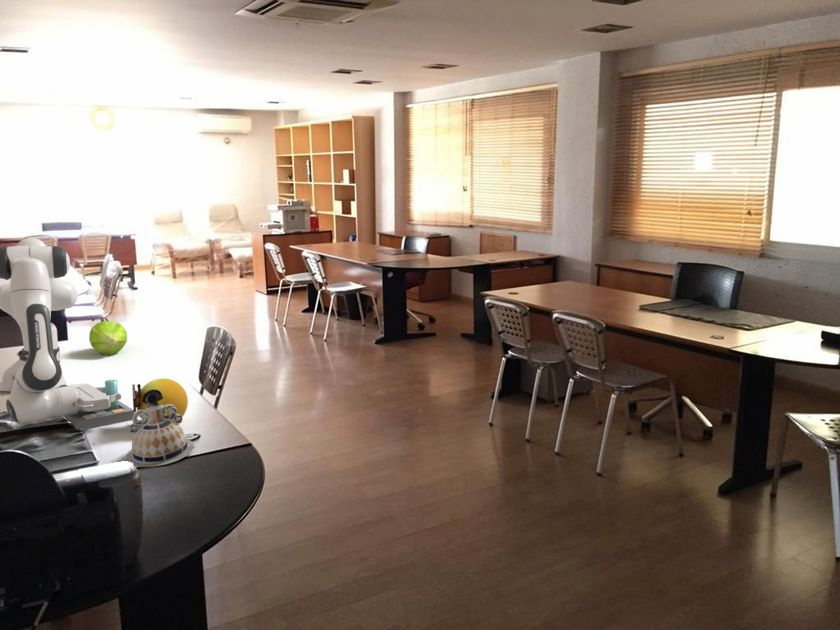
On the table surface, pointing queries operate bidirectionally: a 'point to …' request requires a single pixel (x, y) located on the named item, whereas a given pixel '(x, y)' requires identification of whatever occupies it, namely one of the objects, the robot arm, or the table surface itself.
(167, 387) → the emoji
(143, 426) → the figurine
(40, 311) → the robot arm
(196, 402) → the table surface
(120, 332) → the lettuce
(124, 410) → the socket board
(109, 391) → the teal rounded cylinder
